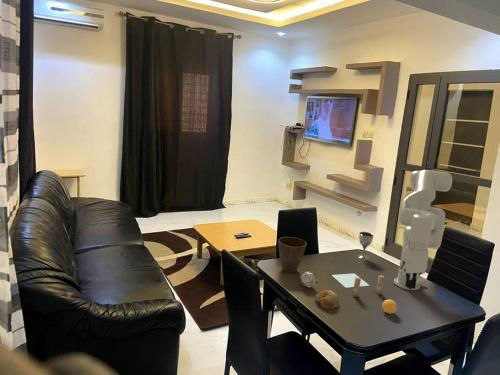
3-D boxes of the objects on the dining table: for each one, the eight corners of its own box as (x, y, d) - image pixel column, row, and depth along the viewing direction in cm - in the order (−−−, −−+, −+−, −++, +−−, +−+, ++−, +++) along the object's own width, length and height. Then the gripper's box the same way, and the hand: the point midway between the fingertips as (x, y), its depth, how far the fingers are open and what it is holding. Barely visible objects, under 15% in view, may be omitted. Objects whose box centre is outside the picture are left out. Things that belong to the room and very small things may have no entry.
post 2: (379, 292, 182) (382, 275, 180) (382, 294, 179) (385, 277, 177) (374, 292, 181) (377, 275, 179) (378, 295, 179) (380, 278, 177)
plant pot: (286, 261, 210) (289, 234, 207) (308, 270, 201) (311, 242, 197) (270, 268, 199) (272, 240, 195) (293, 278, 189) (296, 249, 186)
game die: (305, 295, 180) (300, 284, 174) (299, 282, 187) (294, 271, 181) (322, 288, 180) (317, 276, 174) (315, 275, 187) (310, 263, 181)
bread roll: (332, 318, 163) (343, 304, 160) (312, 305, 163) (322, 291, 161) (332, 306, 172) (342, 293, 170) (313, 294, 173) (322, 281, 171)
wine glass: (361, 253, 231) (364, 231, 227) (372, 258, 225) (376, 234, 222) (353, 256, 226) (357, 233, 222) (364, 261, 220) (368, 237, 216)
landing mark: (354, 273, 201) (354, 273, 201) (369, 285, 188) (369, 285, 188) (331, 275, 196) (331, 275, 196) (345, 287, 184) (345, 287, 183)
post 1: (356, 294, 178) (358, 277, 176) (359, 297, 175) (361, 279, 173) (351, 294, 177) (354, 277, 175) (354, 297, 175) (357, 279, 173)
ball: (389, 308, 167) (391, 296, 166) (398, 315, 161) (400, 303, 160) (378, 309, 165) (380, 297, 164) (387, 317, 160) (389, 304, 158)
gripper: (426, 241, 153) (418, 282, 157) (395, 242, 148) (388, 284, 152) (440, 247, 146) (431, 290, 150) (408, 249, 141) (400, 293, 145)
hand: (409, 287), depth 151 cm, fingers closed
